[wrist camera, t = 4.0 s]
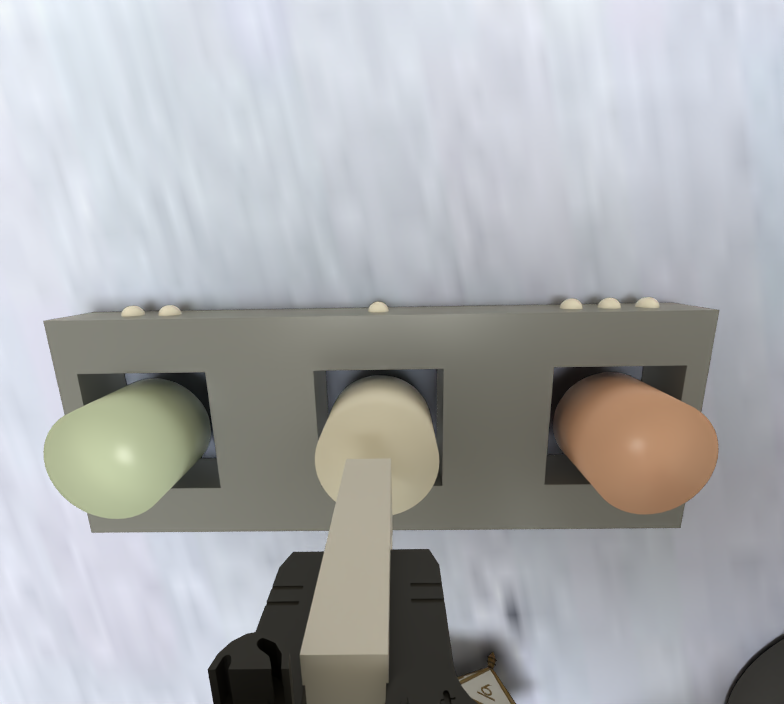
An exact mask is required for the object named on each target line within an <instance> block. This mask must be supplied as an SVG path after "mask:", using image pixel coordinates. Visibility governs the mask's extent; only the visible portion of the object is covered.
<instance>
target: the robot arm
mask: <svg viewBox="0 0 784 704" xmlns="http://www.w3.org/2000/svg"><path fill="white" fill-rule="evenodd" d="M392 536H393V527H392V478H391V458H387V459H346V462H345V466H344V471H343V475H342V479H341V483H340V487H339V492H338V496H337V500H336V504H335V508H334V513H333V517H332V521H331V525H330V529H329V534H328V538H327V542H326V546H325V550H324V552H293V553H292V554H291V555H290V556H289V557H288V558H287V560H286V561H285V562H284V563H283V564H282V565H281V566H280V567H279V570H278V573H277V575H276V578H275V581H274V584H273V588H272V590H271V592H270V594H269V597H268V600H267V605H266V606H265V608H264V611H263V613H262V616H261V619H260V621H259V624H258V627H257V630H256V632H254V633H249V634H245V635H243V636H241V637H240V638H238V639H236V640H234V641H232V642H230V643H229V644H228V645H227V646H226V647H225V648H224V649H223V650H222V651H221V652H219V653H218V654H217V656H216V657H215V659H214V661H213V662H212V664H211V665H210V667H209V668H208V674H209V680H210V686H211V692H212V697H213V703H214V704H478V703H477V702H476V701H475V700H473V699H472V698H471V697H470V696H469V695H468V693H467V692H466V691H465V690H464V688H463V687H462V685H461V684H460V682H459V680H458V678H457V676H456V672H455V668H454V665H453V658H452V651H451V644H450V637H449V630H448V623H447V616H446V609H445V602H444V595H443V588H442V582H441V575H440V568H439V564H438V562H437V561H436V559H435V558H434V556H433V555H432V553H431V552H430V550H429V549H398V550H392ZM728 704H784V639H783V640H781V641H780V642H778V643H776V644H775V645H773V646H772V647H771V648H769V649H768V650H767V651H765V652H764V653H763V654H762V655H761V656H759V657H758V658H757V659H756V660H755V661H754V662H753V663H752V664H751V665H750V666H749V667H748V668H747V670H746V671H745V672H744V673H743V675H742V676H741V678H740V679H739V680H738V682H737V684H736V685H735V687H734V689H733V691H732V693H731V695H730V698H729V700H728Z"/></svg>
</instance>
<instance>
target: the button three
mask: <svg viewBox="0 0 784 704" xmlns="http://www.w3.org/2000/svg"><path fill="white" fill-rule="evenodd" d="M553 432H554V436H555V440H556V442H557V444H558V446H559V447H560V449H561V450H562V451H563V452H564V454H565V455H566V456H567V457H568V458H569V459H570V460H571V462H572V463H573V464H574V465H575V466H576V467H577V469H578V470H579V471H580V472H581V473H582V474H583V476H584V477H585V478H586V479H587V480H588V481H589V482H590V484H591V485H592V486H593V487H594V488H595V489H596V491H597V492H598V493H599V494H600V495H601V496H602V497H603V499H604V500H606V501H607V502H608V503H609V504H611V505H612V506H614V507H616V508H618V509H620V510H622V511H625V512H629V513H634V514H656V513H662V512H665V511H669V510H671V509H674V508H676V507H678V506H680V505H682V504H684V503H686V502H687V501H688V500H690V499H691V498H693V497H694V496H695V495H696V494H697V493H698V492H699V491H700V490H701V489H702V488H703V487H704V486H705V484H706V483H707V482H708V480H709V479H710V477H711V475H712V473H713V471H714V469H715V466H716V462H717V459H718V440H717V435H716V433H715V430H714V428H713V426H712V424H711V423H710V421H709V420H708V419H707V417H706V416H704V415H703V414H702V413H701V412H700V411H698V410H697V409H696V408H694V407H692V406H690V405H688V404H686V403H684V402H682V401H680V400H678V399H676V398H674V397H672V396H670V395H668V394H666V393H664V392H662V391H660V390H658V389H656V388H654V387H652V386H650V385H648V384H646V383H644V382H642V381H640V380H638V379H636V378H634V377H632V376H630V375H627V374H623V373H618V372H602V373H597V374H594V375H591V376H588V377H586V378H584V379H582V380H580V381H579V382H577V383H576V384H574V385H573V386H572V387H571V388H570V389H569V390H568V391H567V392H566V393H565V394H564V395H563V397H562V398H561V400H560V401H559V403H558V405H557V407H556V410H555V413H554V418H553Z"/></svg>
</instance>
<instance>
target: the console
mask: <svg viewBox="0 0 784 704" xmlns="http://www.w3.org/2000/svg"><path fill="white" fill-rule="evenodd" d="M718 315H719V310H717V309H710V308H704V307H698V306H691V305H685V304H678V303H672V302H671V303H658V301H657V300H656V299H654V298H651V297H645V298H642V299H640V300H639V301H637V303H619V301H618V300H616V299H614V298H605V299H603V300H601V301H600V302H599V304H581V303H580V302H579V301H578V300H577V299H573V298H570V299H566V300H565V301H563V302H562V303H561V304H551V305H490V306H430V307H387V306H386V304H384V303H382V302H374V303H373V304H371V305H370V307H369V308H309V309H249V310H188V311H180V309H179V308H177V307H176V306H173V305H167V306H164V307H162V308H161V309H160V311H144V310H143V309H141V308H140V307H137V306H128V307H126V308H125V309H124V310H123V311H122V312H91V313H86V314H80V315H74V316H69V317H63V318H57V319H51V320H46V321H43V322H44V326H45V330H46V335H47V339H48V344H49V348H50V352H51V357H52V361H53V365H54V370H55V374H56V379H57V383H58V387H59V392H60V396H61V401H62V405H63V409H64V414H65V415H66V414H68V413H70V412H72V411H74V410H76V409H78V408H81V407H83V406H85V405H87V404H89V403H91V402H93V401H95V400H98V399H100V398H102V397H104V396H106V395H108V394H110V393H113V392H115V391H117V390H119V389H121V388H123V387H125V386H126V381H125V375H124V373H182V372H205V374H206V382H207V389H208V397H209V404H210V412H211V419H212V426H213V434H214V441H215V449H216V456H217V458H200V459H199V460H198V461H197V462H196V463H195V464H194V465H193V466H192V467H191V468H190V469H189V470H188V471H187V472H186V473H185V474H184V475H183V476H182V477H181V478H180V479H179V480H178V481H177V482H176V484H175V485H174V486H173V487H172V488H171V489H170V490H169V491H168V492H167V493H166V494H165V495H164V496H163V497H162V498H161V499H160V500H159V501H158V502H157V503H156V504H155V505H154V506H153V507H151V508H150V509H149V510H147V511H146V512H144V513H142V514H140V515H137V516H134V517H130V518H124V519H109V518H103V517H98V516H95V515H92V514H89V513H87V514H88V519H89V523H90V528H91V532H92V533H104V532H229V531H329V529H330V525H331V521H332V517H333V513H334V508H335V504H336V502H335V501H334V500H333V499H332V498H331V497H330V496H329V495H328V494H327V492H326V491H325V490H324V488H323V487H322V485H321V483H320V481H319V479H318V476H317V472H316V467H315V451H316V446H317V443H318V440H319V438H320V436H321V433H322V431H323V429H324V426H325V424H326V422H327V419H328V417H329V416H328V399H327V382H326V370H394V369H437V434H436V443H437V447H438V452H439V470H438V474H437V478H436V480H435V483H434V485H433V487H432V488H431V490H430V491H429V493H428V494H427V495H426V496H425V497H424V498H423V499H422V500H421V501H420V502H419V503H418V504H416V505H415V506H413V507H412V508H410V509H408V510H406V511H404V512H402V513H398V514H395V515H392V527H393V530H480V529H605V528H681V522H682V517H683V511H684V505H685V503H684V504H682V505H680V506H678V507H676V508H674V509H671V510H669V511H665V512H662V513H656V514H634V513H629V512H625V511H622V510H620V509H618V508H616V507H614V506H612V505H611V504H609V503H608V502H607V501H606V500H604V499H603V497H602V496H601V495H600V494H599V493H598V492H597V491H596V489H595V488H594V487H593V486H592V485H591V484H590V482H589V481H588V480H587V479H586V478H585V477H584V476H583V474H582V473H581V472H580V471H579V470H578V469H577V467H576V466H575V465H574V464H573V463H572V462H571V460H570V459H569V458H568V457H567V456H566V455H547V446H548V434H549V422H550V409H551V397H552V385H553V373H554V367H606V366H644V367H643V375H642V382H644V383H646V384H648V385H650V386H652V387H654V388H656V389H658V390H660V391H662V392H664V393H666V394H668V395H670V396H672V397H674V398H676V399H678V400H680V401H682V402H684V403H686V404H688V405H690V406H692V407H694V408H696V409H697V410H698V411H700V412H701V410H702V404H703V399H704V393H705V388H706V382H707V376H708V371H709V365H710V360H711V354H712V348H713V343H714V337H715V331H716V326H717V320H718Z"/></svg>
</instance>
